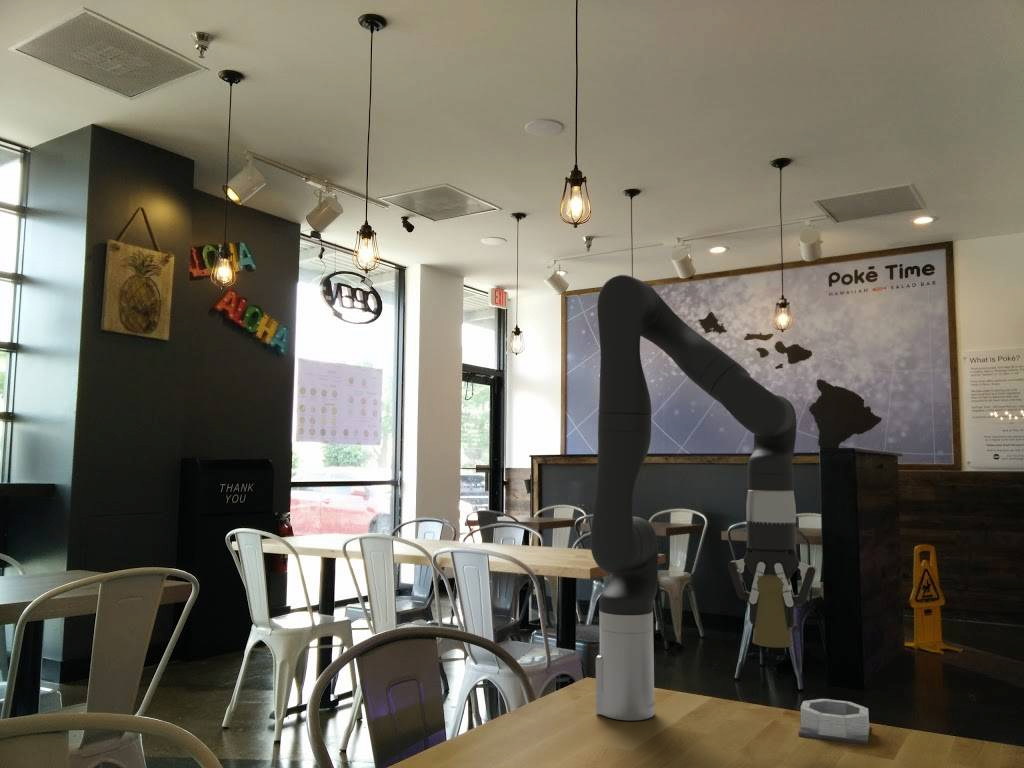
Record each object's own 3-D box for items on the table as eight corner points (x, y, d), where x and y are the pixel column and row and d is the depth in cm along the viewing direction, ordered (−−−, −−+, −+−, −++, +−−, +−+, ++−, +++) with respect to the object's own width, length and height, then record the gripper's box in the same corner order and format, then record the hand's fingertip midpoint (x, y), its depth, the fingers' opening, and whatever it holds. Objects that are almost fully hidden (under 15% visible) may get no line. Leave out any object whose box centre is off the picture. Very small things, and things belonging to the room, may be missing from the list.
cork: (794, 648, 130) (793, 575, 131) (753, 646, 131) (753, 574, 132) (790, 640, 136) (788, 570, 136) (750, 638, 137) (750, 569, 138)
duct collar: (798, 736, 133) (798, 712, 134) (805, 718, 142) (804, 696, 143) (867, 745, 129) (866, 720, 129) (870, 726, 138) (869, 703, 138)
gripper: (721, 518, 134) (722, 628, 133) (815, 522, 128) (818, 637, 127) (729, 515, 141) (731, 620, 140) (820, 519, 135) (822, 628, 134)
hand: (772, 628), depth 133 cm, fingers closed on cork, 4 cm apart
